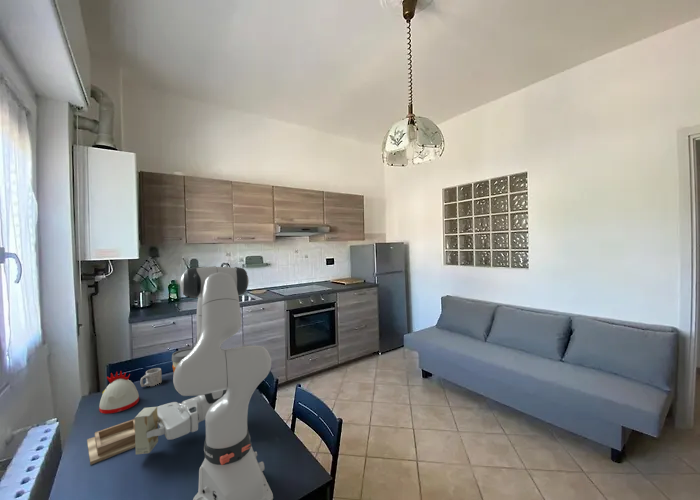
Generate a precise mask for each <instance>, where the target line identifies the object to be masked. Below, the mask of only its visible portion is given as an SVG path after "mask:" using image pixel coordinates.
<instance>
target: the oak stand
mask: <svg viewBox="0 0 700 500" xmlns="http://www.w3.org/2000/svg"><path fill="white" fill-rule="evenodd" d="M86 445H87V449H88V459H89V464H90V466H91V465H93V464H96V463H99V462H102V461H104V460H107V459H109V458H111V457H115V456H116V455H119V454H121V453H124V452H127V451H129V450H132V449H134V448H135V418H133V419H130V420H127V421H124V422H121V423H118V424H116V425H112V426H110V427H106V428H104V429H101V430H98V431H95V432H94V436H93V437H90V438H87V439H86Z"/></svg>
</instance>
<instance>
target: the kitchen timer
mask: <svg viewBox="0 0 700 500" xmlns="http://www.w3.org/2000/svg"><path fill="white" fill-rule="evenodd" d="M126 374H127V372H124V374H123V372H122V370H120V372H119V374H118V371H116V372H115V376H114V374H113V373H112V372H111V373H110V377H109V376H106V379H107V381H108V382H109V384H108V385H107V386H106V388H105V389H104V390H103V391H102V393H101V394H102V395H101V398H100V401H99V407H98V410H99V413H101V414H105V415H106V414H116V413H118V412H123V411H125V410H129V409H131V408H133V407H134V406H135V405H137V404H138V403H139V401H140V395H139V391H138V390H137V387H136V385H135V384H134V383H133V381H132V380H129V378H130V376H131V374H130V373H129V374H128V376H126Z"/></svg>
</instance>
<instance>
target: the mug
mask: <svg viewBox="0 0 700 500" xmlns="http://www.w3.org/2000/svg"><path fill="white" fill-rule="evenodd" d="M144 379H145V383H144ZM162 380H163V379H162V368H161V367H155V368H151V369H148V370H146V371H145V374H144V375H143V376H142V377H141V378H140V382H139V383H140V387H142V388H143V387H149V386H150V387H156V386H158V385H160V384H161V383H162ZM159 383H160V384H159ZM157 384H158V385H157ZM155 385H156V386H155Z"/></svg>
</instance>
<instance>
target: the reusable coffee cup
mask: <svg viewBox="0 0 700 500" xmlns="http://www.w3.org/2000/svg"><path fill="white" fill-rule="evenodd" d="M192 349H193V348H184V349H181V350H177V351H175V352H173V353H172V355H171V361H172V370H173V371H172V372H173V373H174V371H175V368H176V366H177V365H178V363H179V362H180V361H181V360H182V359H183V358H184V357H186V356H187V355H188V354H189V353H190V352H191V351H192Z"/></svg>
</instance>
